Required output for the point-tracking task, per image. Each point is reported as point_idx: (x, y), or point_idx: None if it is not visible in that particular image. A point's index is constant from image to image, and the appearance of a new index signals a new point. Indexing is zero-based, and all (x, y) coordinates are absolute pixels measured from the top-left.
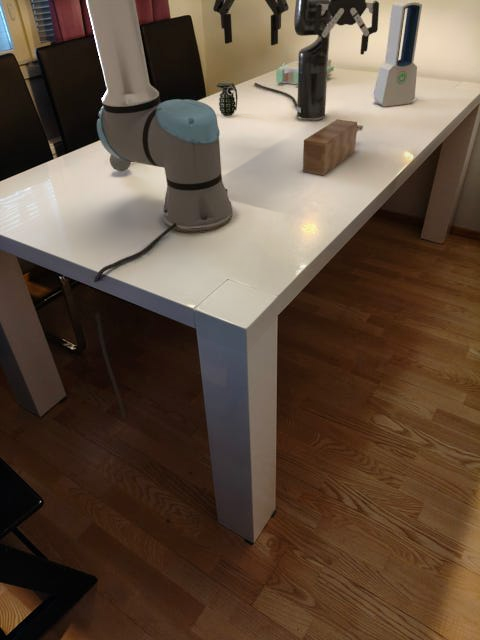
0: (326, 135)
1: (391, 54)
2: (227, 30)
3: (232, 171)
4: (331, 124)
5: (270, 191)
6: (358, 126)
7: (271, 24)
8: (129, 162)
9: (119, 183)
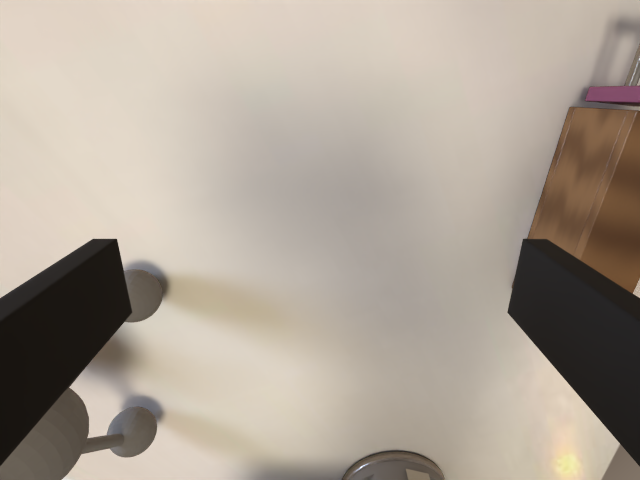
0: (612, 280)
1: None
2: (76, 360)
3: (356, 333)
4: (620, 177)
5: (471, 386)
6: None
7: (610, 422)
8: (154, 427)
9: (180, 443)
